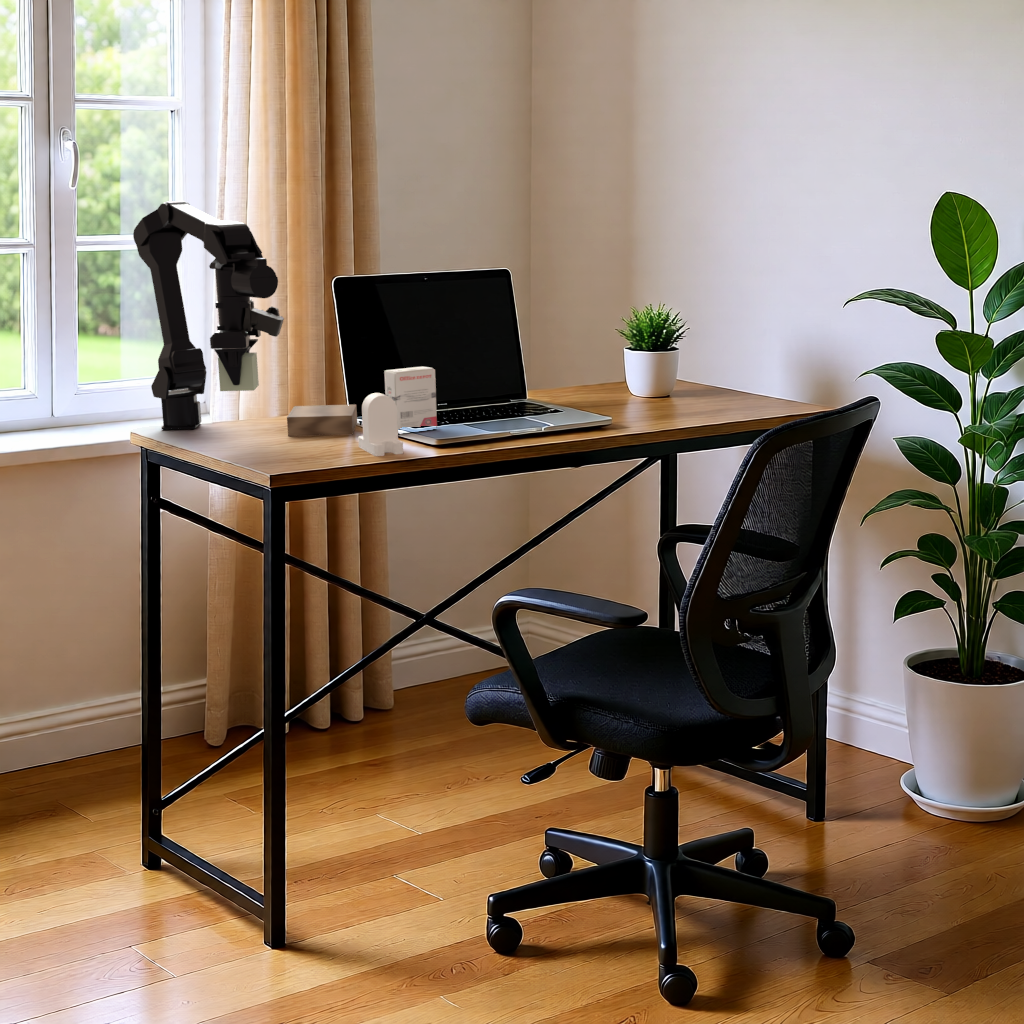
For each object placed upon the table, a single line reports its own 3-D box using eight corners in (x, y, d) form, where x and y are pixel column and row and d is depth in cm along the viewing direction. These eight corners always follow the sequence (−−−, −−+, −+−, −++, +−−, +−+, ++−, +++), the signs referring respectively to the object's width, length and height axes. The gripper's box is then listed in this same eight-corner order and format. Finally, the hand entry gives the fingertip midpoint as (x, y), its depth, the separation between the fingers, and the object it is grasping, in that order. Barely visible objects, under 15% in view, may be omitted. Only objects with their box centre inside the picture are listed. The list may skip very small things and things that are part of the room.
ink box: (426, 426, 266) (424, 364, 263) (438, 430, 261) (436, 367, 259) (385, 431, 261) (383, 368, 258) (397, 435, 257) (394, 372, 254)
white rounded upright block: (375, 456, 239) (372, 399, 237) (357, 446, 248) (355, 391, 246) (404, 453, 241) (402, 396, 239) (386, 443, 250) (383, 388, 248)
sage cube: (220, 391, 248) (217, 357, 247) (225, 385, 254) (223, 353, 253) (253, 390, 249) (251, 356, 247) (258, 385, 254) (256, 352, 253)
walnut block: (288, 438, 259) (286, 417, 258) (295, 426, 270) (294, 406, 269) (352, 436, 259) (351, 415, 258) (357, 424, 271) (356, 404, 270)
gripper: (271, 299, 239) (277, 389, 242) (285, 289, 257) (290, 373, 260) (206, 300, 238) (213, 391, 242) (224, 291, 256) (230, 375, 260)
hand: (239, 382), depth 251 cm, fingers closed on sage cube, 6 cm apart
